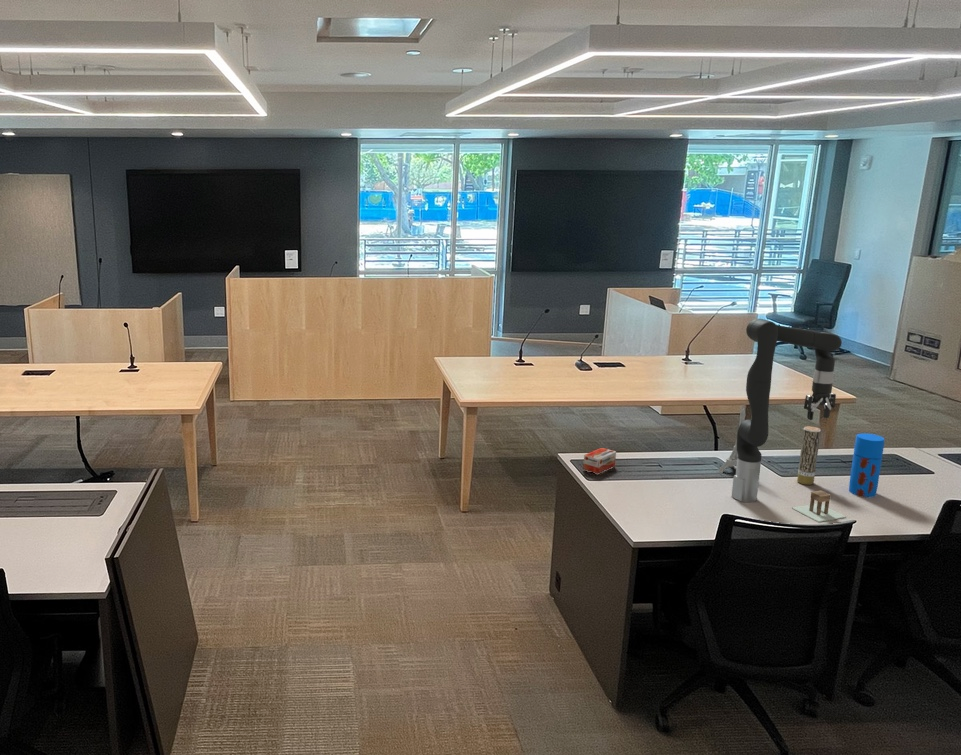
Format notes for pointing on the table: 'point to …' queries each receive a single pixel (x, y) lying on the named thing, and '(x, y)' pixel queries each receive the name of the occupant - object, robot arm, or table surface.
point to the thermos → (866, 465)
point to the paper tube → (808, 455)
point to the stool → (819, 501)
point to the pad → (822, 517)
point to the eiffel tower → (734, 455)
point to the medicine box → (599, 460)
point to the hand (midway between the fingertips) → (817, 418)
